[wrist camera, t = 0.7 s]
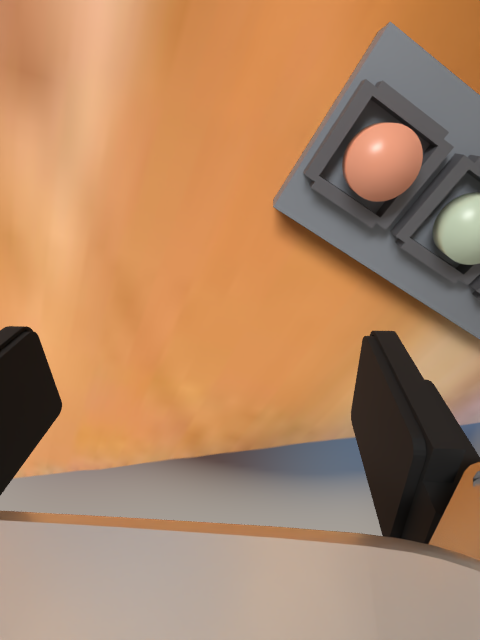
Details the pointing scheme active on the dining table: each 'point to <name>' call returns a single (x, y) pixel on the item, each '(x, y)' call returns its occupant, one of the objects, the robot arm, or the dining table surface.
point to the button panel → (420, 198)
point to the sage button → (459, 229)
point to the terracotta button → (382, 161)
